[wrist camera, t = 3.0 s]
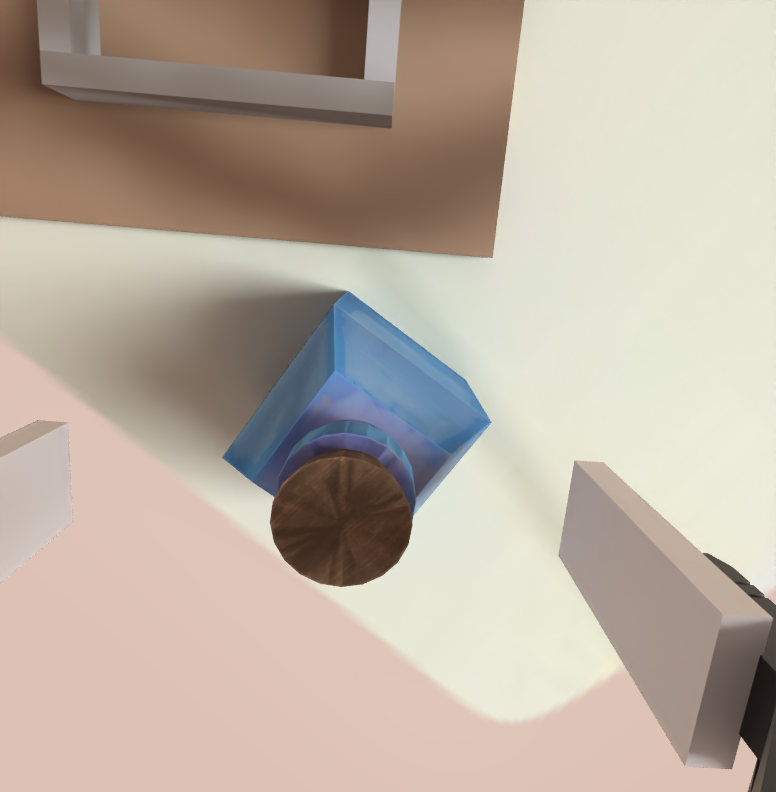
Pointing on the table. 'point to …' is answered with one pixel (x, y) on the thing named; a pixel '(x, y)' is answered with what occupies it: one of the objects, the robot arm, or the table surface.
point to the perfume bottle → (355, 444)
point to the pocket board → (261, 117)
